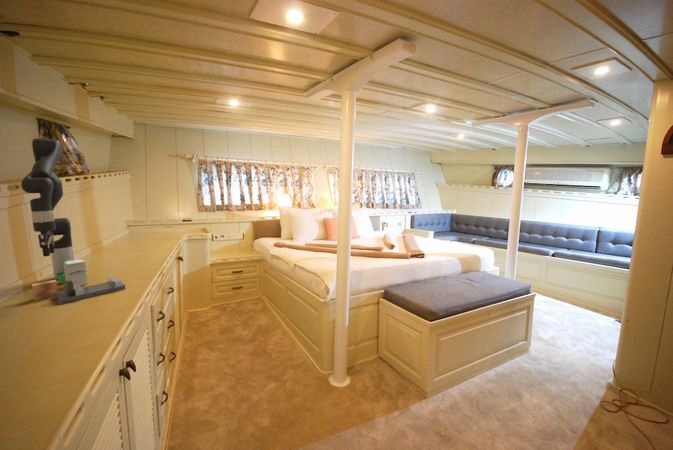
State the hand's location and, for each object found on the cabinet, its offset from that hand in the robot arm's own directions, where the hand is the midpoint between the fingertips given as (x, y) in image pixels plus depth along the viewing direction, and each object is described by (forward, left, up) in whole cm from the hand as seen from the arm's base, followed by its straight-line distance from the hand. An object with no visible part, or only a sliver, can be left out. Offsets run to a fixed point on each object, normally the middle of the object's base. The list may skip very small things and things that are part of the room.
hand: (49, 254), depth 144 cm
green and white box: (-17, +10, -19) cm, 27 cm away
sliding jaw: (+14, +5, -17) cm, 23 cm away
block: (+4, -3, -19) cm, 20 cm away
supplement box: (-6, +10, -19) cm, 22 cm away
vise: (+14, +11, -19) cm, 26 cm away
